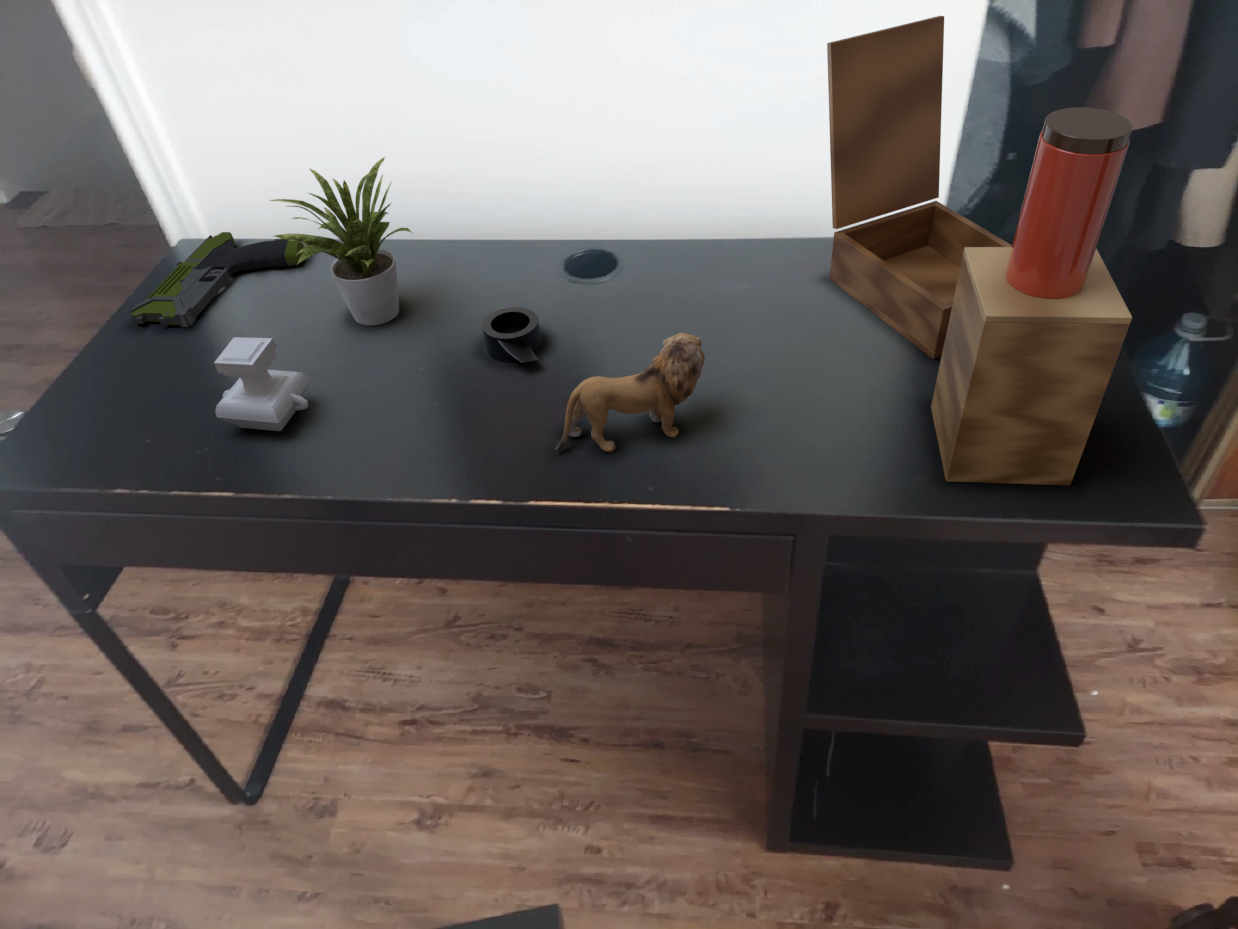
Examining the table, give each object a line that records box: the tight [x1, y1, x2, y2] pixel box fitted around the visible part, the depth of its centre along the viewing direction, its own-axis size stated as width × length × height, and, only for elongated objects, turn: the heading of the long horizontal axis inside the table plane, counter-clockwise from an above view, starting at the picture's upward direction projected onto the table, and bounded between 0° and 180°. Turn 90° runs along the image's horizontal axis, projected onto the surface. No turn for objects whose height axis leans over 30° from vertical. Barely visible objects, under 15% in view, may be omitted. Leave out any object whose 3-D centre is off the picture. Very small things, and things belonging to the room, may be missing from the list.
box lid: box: [826, 15, 945, 230], centre depth 97 cm, size 18×14×4 cm
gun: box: [130, 231, 306, 328], centre depth 109 cm, size 2×19×15 cm
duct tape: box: [481, 305, 542, 364], centre depth 96 cm, size 8×10×3 cm
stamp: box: [213, 336, 311, 432], centre depth 87 cm, size 9×7×8 cm
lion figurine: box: [554, 332, 706, 453], centre depth 82 cm, size 15×5×9 cm, turn 112°
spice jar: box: [1005, 106, 1134, 299], centre depth 65 cm, size 6×6×12 cm
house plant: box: [269, 156, 414, 326], centre depth 99 cm, size 14×14×16 cm
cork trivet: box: [964, 247, 1133, 324], centre depth 70 cm, size 10×10×1 cm
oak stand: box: [930, 254, 1131, 486], centre depth 75 cm, size 10×10×16 cm
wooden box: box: [829, 200, 1013, 360], centre depth 96 cm, size 18×14×6 cm
